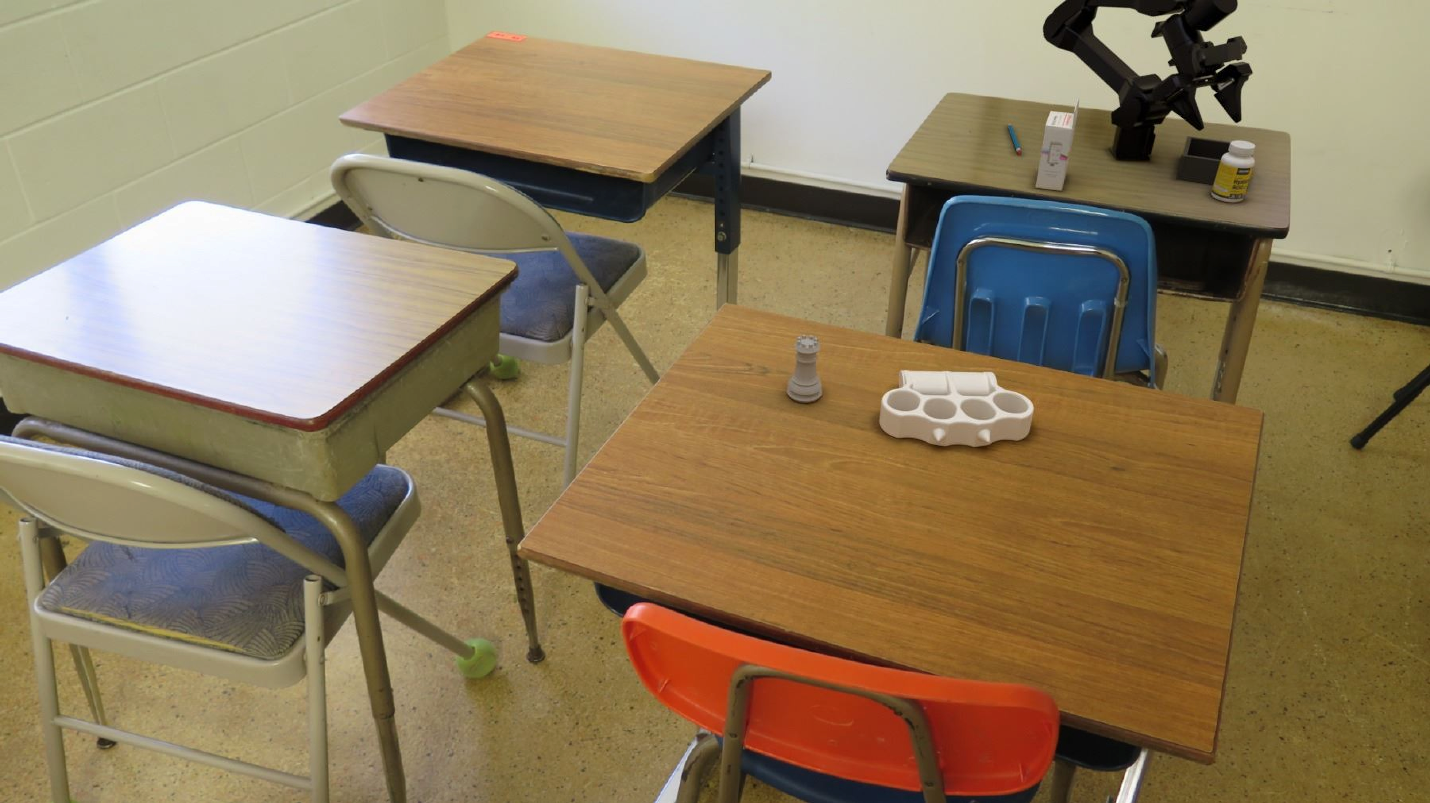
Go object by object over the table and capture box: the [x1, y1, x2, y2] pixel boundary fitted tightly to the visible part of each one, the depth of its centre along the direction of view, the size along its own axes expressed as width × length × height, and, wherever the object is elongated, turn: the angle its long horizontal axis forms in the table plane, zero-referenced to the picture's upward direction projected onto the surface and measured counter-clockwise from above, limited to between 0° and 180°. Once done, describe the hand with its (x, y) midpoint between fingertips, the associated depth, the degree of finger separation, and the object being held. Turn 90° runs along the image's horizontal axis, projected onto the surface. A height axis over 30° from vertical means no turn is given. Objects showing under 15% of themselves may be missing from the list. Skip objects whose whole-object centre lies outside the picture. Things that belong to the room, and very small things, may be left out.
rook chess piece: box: [786, 334, 823, 404], centre depth 131 cm, size 4×4×8 cm
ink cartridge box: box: [1035, 97, 1080, 192], centre depth 189 cm, size 9×5×15 cm, turn 160°
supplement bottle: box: [1210, 139, 1256, 204], centre depth 184 cm, size 5×5×10 cm
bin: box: [1176, 135, 1253, 186], centre depth 195 cm, size 12×12×4 cm
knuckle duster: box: [878, 369, 1035, 448], centre depth 128 cm, size 3×18×15 cm
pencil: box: [1007, 123, 1022, 155], centre depth 211 cm, size 1×17×1 cm, turn 174°
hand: (1220, 125), depth 185 cm, fingers open, 9 cm apart
